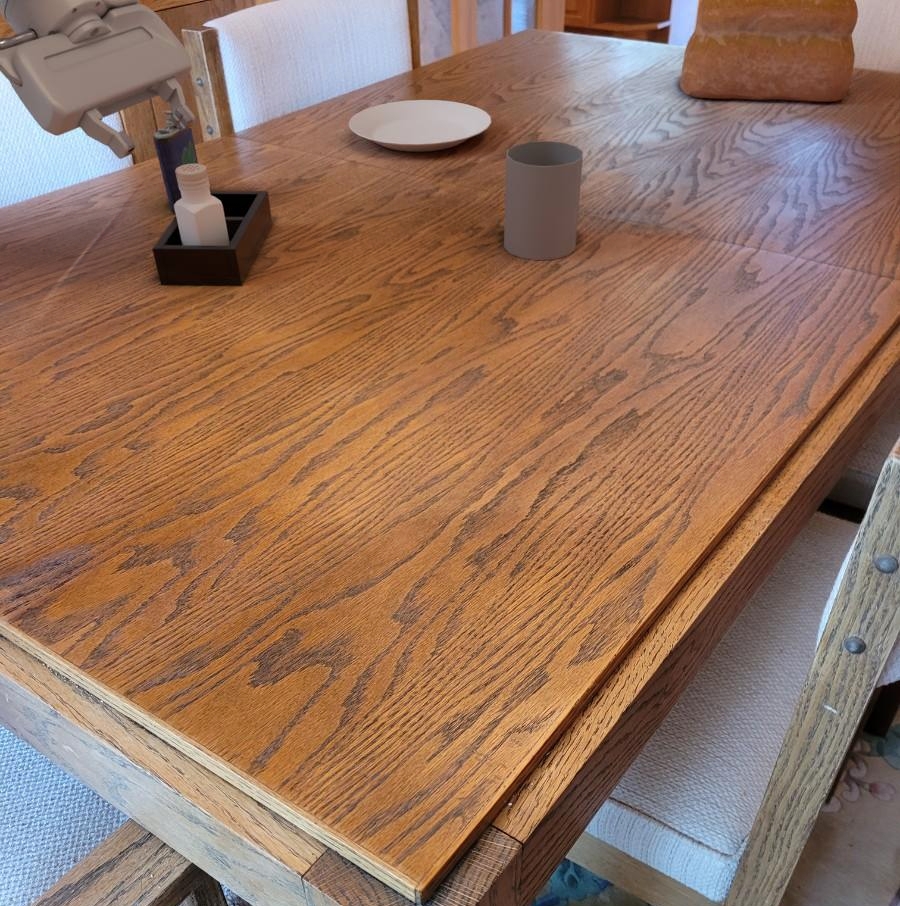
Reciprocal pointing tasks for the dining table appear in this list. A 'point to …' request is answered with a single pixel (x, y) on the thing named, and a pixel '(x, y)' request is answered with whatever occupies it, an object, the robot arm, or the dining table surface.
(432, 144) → the plate
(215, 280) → the box
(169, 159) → the flask
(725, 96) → the bread
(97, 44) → the robot arm
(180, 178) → the salt shaker
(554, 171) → the cup
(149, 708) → the dining table surface
